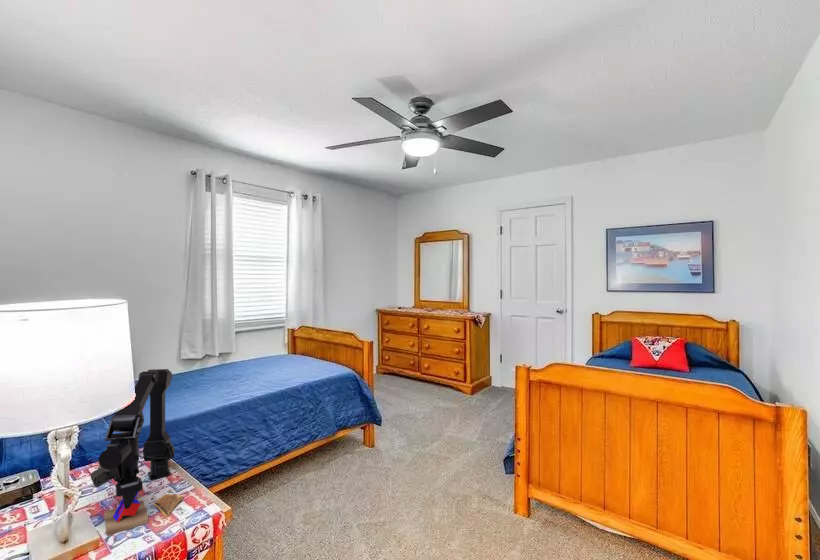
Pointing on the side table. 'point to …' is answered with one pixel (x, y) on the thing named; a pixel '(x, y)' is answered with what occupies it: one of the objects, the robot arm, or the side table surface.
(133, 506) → the blue and red scoop
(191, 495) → the side table surface
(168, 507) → the shard
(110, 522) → the tan curved panel
